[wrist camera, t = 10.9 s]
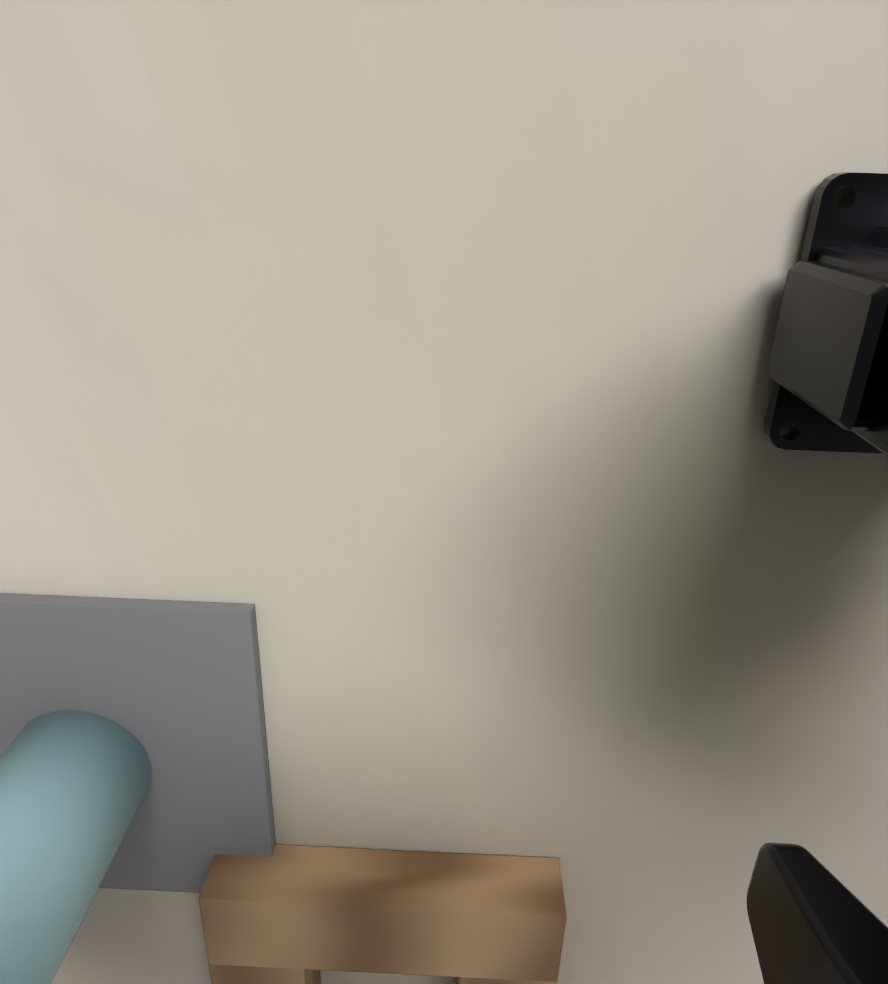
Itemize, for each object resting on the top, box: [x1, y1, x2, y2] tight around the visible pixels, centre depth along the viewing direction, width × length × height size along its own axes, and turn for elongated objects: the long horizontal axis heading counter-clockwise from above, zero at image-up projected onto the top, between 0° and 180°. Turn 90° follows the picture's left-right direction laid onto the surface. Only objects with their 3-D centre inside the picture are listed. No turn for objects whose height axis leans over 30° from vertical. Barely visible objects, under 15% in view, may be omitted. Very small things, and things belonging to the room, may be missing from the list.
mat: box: [0, 593, 276, 893], centre depth 24 cm, size 12×12×1 cm
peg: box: [0, 710, 152, 984], centre depth 20 cm, size 4×4×9 cm
